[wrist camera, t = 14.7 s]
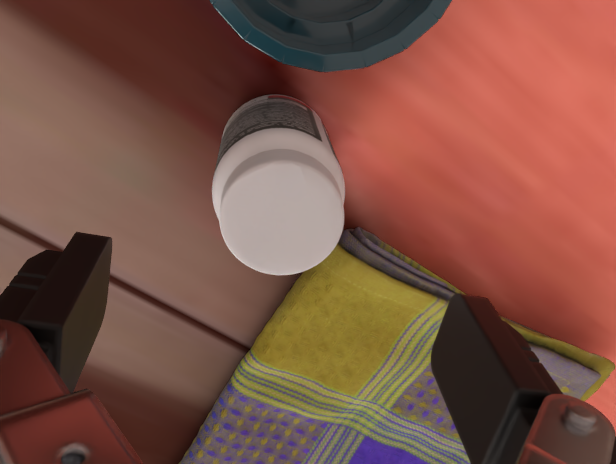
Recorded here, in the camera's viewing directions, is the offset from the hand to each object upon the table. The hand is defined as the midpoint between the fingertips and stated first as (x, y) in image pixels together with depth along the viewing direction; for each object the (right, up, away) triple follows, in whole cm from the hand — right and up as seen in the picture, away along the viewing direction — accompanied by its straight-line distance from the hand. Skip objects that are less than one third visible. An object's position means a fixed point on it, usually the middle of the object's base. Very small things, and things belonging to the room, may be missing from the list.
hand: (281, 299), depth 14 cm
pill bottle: (-1, +5, +13) cm, 14 cm away
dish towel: (+3, -10, +20) cm, 23 cm away
